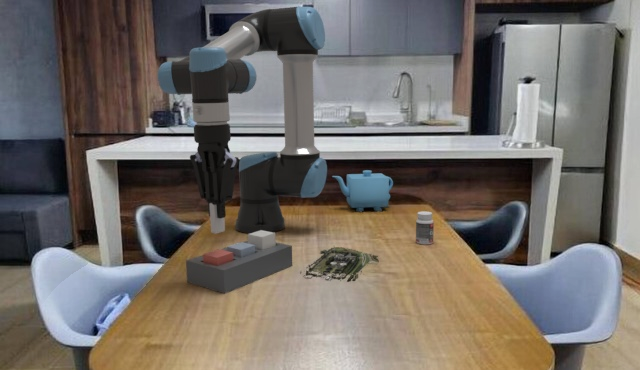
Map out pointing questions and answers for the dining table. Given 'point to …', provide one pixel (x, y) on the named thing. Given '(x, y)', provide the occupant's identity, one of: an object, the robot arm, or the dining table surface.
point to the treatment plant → (341, 263)
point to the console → (239, 268)
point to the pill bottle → (424, 228)
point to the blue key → (241, 249)
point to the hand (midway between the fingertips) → (218, 231)
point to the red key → (218, 257)
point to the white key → (262, 239)
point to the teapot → (366, 190)
